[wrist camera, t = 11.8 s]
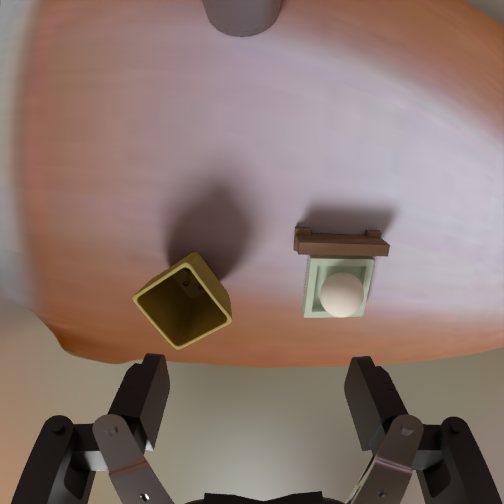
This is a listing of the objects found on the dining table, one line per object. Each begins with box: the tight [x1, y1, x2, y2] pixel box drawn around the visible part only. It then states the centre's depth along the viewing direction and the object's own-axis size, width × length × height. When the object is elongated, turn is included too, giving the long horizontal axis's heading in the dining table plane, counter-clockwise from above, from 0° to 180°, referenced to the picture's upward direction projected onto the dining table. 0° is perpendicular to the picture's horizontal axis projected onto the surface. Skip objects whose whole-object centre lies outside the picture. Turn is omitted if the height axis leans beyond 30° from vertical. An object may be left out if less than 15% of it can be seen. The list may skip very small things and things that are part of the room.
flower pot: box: [133, 252, 232, 349], centre depth 37 cm, size 9×9×9 cm
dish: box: [302, 255, 374, 318], centre depth 41 cm, size 9×9×2 cm
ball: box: [320, 272, 364, 317], centre depth 38 cm, size 6×6×6 cm
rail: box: [294, 227, 390, 256], centre depth 38 cm, size 3×12×4 cm, turn 88°
